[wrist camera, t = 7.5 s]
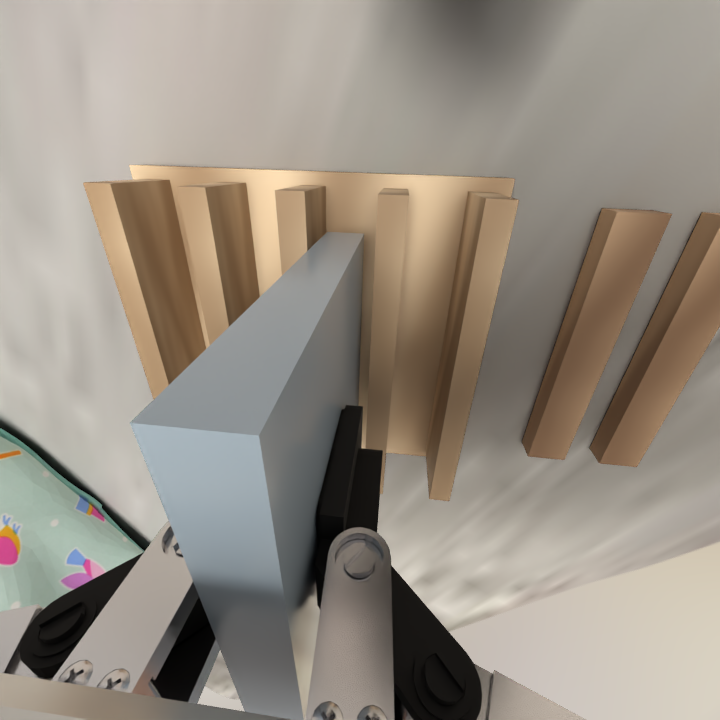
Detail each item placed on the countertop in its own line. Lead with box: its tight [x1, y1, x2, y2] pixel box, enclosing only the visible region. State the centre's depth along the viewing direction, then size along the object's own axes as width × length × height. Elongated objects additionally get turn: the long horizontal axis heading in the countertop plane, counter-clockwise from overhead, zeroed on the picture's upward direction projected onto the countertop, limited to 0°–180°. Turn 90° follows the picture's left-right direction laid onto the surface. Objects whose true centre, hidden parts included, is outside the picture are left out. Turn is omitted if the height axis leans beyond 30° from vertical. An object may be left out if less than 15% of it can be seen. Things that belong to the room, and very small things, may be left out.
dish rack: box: [83, 165, 519, 501], centre depth 17 cm, size 16×15×4 cm
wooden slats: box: [522, 208, 720, 467], centre depth 17 cm, size 6×13×1 cm, turn 178°
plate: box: [130, 232, 364, 720], centre depth 11 cm, size 1×11×11 cm, turn 178°
